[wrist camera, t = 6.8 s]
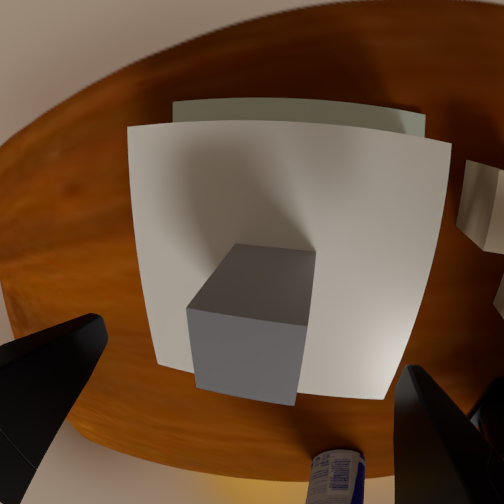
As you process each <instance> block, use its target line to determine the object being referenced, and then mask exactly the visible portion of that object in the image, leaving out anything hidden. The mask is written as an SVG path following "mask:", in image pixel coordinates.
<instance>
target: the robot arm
mask: <svg viewBox="0 0 504 504" xmlns="http://www.w3.org/2000/svg"><path fill="white" fill-rule="evenodd" d="M107 342H108V333H107V330H106V327H105V323H104V320H103V318H102V316H100V315H98V314H94V313H89V314H86V315H83V316H80V317H78V318H75V319H72V320H69V321H67V322H64V323H61V324H58V325H55V326H53V327H50V328H47V329H44V330H42V331H39V332H36V333H33V334H30V335H28V336H25V337H22V338H19V339H17V340H14V341H11V342H8V343H5V344H3V345H1V346H0V502H1V503H2V504H20V503H21V501H22V499H23V497H24V494H25V493H26V490H27V488H28V486H29V484H30V482H31V480H32V479H33V477H34V475H35V473H36V471H37V470H36V469H37V468H38V466H39V465H40V463H41V461H42V459H43V457H44V455H45V453H46V451H47V450H48V448H49V446H50V444H51V442H52V441H53V439H54V437H55V435H56V434H57V432H58V430H59V428H60V427H61V425H62V423H63V421H64V420H65V418H66V416H67V415H68V413H69V411H70V410H71V408H72V406H73V405H74V403H75V401H76V400H77V398H78V396H79V395H80V393H81V391H82V390H83V388H84V386H85V385H86V383H87V382H88V380H89V378H90V376H91V374H92V372H93V370H94V368H95V366H96V364H97V362H98V360H99V358H100V356H101V354H102V352H103V350H104V348H105V346H106V345H107ZM475 426H479V430H480V431H479V430H478V429H477V428H476V427H475ZM393 447H394V471H395V504H504V378H500V379H496V380H495V381H494V382H493V383H492V385H491V386H490V388H489V389H488V391H487V393H486V394H485V396H484V397H483V399H482V400H481V402H480V403H479V405H478V406H477V407H476V409H475V410H474V412H473V413H472V414H471V416H470V417H469V419H468V418H467V416H466V415H465V414H464V413H463V412H462V411H461V410H460V408H459V407H458V406H457V405H456V404H455V403H454V402H453V401H452V399H451V398H450V397H449V396H448V395H447V394H446V393H445V392H444V391H443V389H442V388H441V387H440V386H439V385H438V384H437V383H436V382H435V381H434V380H433V378H432V377H431V376H430V375H429V374H428V373H427V372H426V371H425V370H424V369H423V368H422V367H421V366H420V365H406V366H405V367H404V369H403V371H402V374H401V376H400V378H399V380H398V383H397V385H396V388H395V409H394V434H393Z"/></svg>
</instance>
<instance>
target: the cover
mask: <svg viewBox="0 0 504 504" xmlns="http://www.w3.org/2000/svg"><path fill="white" fill-rule="evenodd" d="M127 129H128V158H129V176H130V190H131V202H132V212H133V222H134V231H135V239H136V247H137V255H138V262H139V269H140V275H141V281H142V288H143V293H144V299H145V305H146V310H147V315H148V320H149V325H150V330H151V335H152V340H153V344H154V349H155V353H156V358H157V362H158V364H160V365H164V366H168V367H171V368H175V369H179V370H183V371H187V372H191V373H194V374H195V381H196V387H197V388H201V389H205V390H209V391H214V392H218V393H223V394H227V395H232V396H237V397H242V398H247V399H253V400H259V401H264V402H270V403H277V404H284V405H291V406H294V405H295V400H296V394H297V392H299V393H307V394H316V395H325V396H336V397H348V398H363V399H384V397H385V395H386V393H387V390H388V388H389V386H390V384H391V381H392V379H393V377H394V375H395V372H396V370H397V367H398V365H399V363H400V360H401V358H402V355H403V352H404V350H405V347H406V345H407V342H408V339H409V337H410V334H411V331H412V328H413V325H414V322H415V319H416V316H417V313H418V310H419V307H420V304H421V301H422V297H423V294H424V291H425V287H426V284H427V280H428V277H429V273H430V269H431V265H432V261H433V257H434V253H435V249H436V244H437V240H438V235H439V230H440V225H441V220H442V215H443V209H444V203H445V197H446V190H447V183H448V175H449V167H450V157H451V146H452V144H451V143H447V142H442V141H438V140H433V139H428V138H423V137H418V136H413V135H407V134H401V133H395V132H389V131H382V130H375V129H368V128H360V127H352V126H343V125H332V124H321V123H307V122H290V121H261V120H223V121H194V122H177V123H163V124H152V125H142V126H132V127H127Z"/></svg>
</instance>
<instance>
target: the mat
mask: <svg viewBox="0 0 504 504" xmlns="http://www.w3.org/2000/svg"><path fill="white" fill-rule="evenodd" d="M223 120H261V121H290V122H307V123H321V124H332V125H343V126H352V127H360V128H368V129H375V130H382V131H389V132H395V133H401V134H407V135H413V136H418V137H423V138H424V134H425V115H424V114H419V113H414V112H409V111H404V110H398V109H392V108H386V107H379V106H373V105H365V104H357V103H348V102H339V101H327V100H314V99H296V98H219V99H202V100H188V101H177V102H173V123H177V122H194V121H223Z"/></svg>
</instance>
